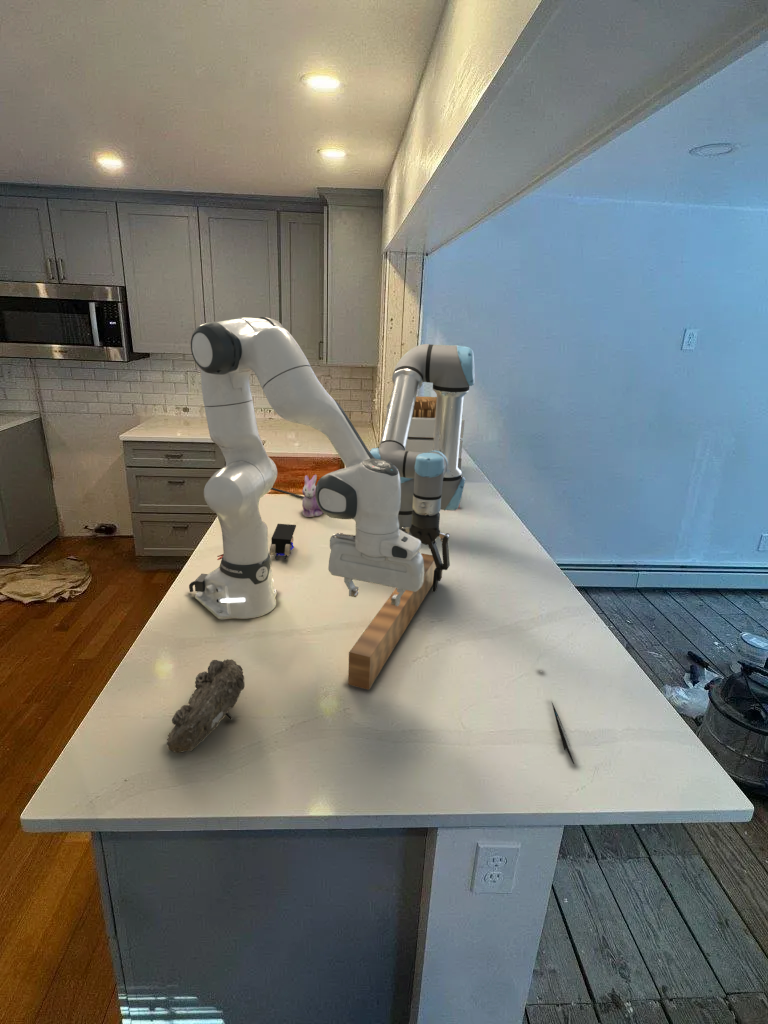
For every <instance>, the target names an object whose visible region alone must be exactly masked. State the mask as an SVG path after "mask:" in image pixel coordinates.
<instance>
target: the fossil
mask: <svg viewBox="0 0 768 1024" xmlns="http://www.w3.org/2000/svg"><path fill="white" fill-rule="evenodd" d="M243 670H244V669H243V667H242V665H240V664H237V662H236V661H235V660H234V659H232V658H231V659H227V658H226V659H224V660H223V661H222V660H217V659H212V660H211V661H210V663H209V665H208V666H207V671H201V672H199V673H198V674H197V675H196V676H195V680H194V684H195V685H194V687H195V689H194V690H193V693H192V694H191V697H190V698H189V700H188V704H184V705H182V706H181V707H180V709H177V710H176V711H175V713H174V715H173V716H172V718H171V723H172V724H173V727H172V730H171V731H170V732H168V734H167V738H166V741H167V742H166V745H167V749H168V750H169V751H173V752H174V753H176V754H178V753H182V752H188V751H189V752H192V751H193V750H195V748H196V747H197V746H199V744H200V743H201V742H203V741H204V740H205V739H206V738H207V737H208V736H209V735H210V734H211V733H212V732H214V730H215V729H217V727H218V726H219V724H220V722H221V721H222V720H223V719H224V718H225V716H226V717H227V719H229V720H233V717H232V715H230V714H229V710H230V709H231V708H234V706H235V704H236V703H237V702H238V699H239V697H240V695H241V693H242V691H243V690H245V689H244V688H245V675H244V671H243Z"/></svg>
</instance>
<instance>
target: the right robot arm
mask: <svg viewBox="0 0 768 1024" xmlns="http://www.w3.org/2000/svg"><path fill="white" fill-rule="evenodd" d="M475 365H476V364H475V354H474V350H473V349H472V348H471V347H470V346H464V345H455V344H454V345H451V344H430V343H423V344H418V345H415V346H413V347H412V348H411V349H409V350H408V351H406V352H405V354H403V355H402V356H401V358H399V360H398V361H397V363H396V365H395V367H394V369H393V372H392V377H391V381H392V384H393V386H392V391H391V395H390V398H389V401H390V403H389V402H388V403H389V407H388V411H387V410H386V412H387V416H386V415H385V420H384V423H383V424H384V425H383V429H382V432H381V433H382V434H381V437H380V442H379V447H372V448H371V449H370V450H369V452H370V453H371V454H372V455H373V457H374V458H375V459H381V460H385V461H388V462H390V463H392V464H393V465H394V466H396V468H397V469H398V471H399V474H400V480H401V507H400V510H399V513H398V521H399V529H400V530H402V531H403V532H405V533H407V534H409V535H411V536H413V537H415V538H417V539H419V540H420V541H421V545H422V544H423V545H425V546H427V547H428V548H429V549H430V553H431V555H432V556H433V559H434V562H435V565H436V568H435V570H434V577H433V585H432V589H431V590H432V591H431V592H432V593H436V591H437V590H438V586H439V585H438V584H439V582H440V581H441V580H442V578H443V571H448V569H449V567H450V566H451V563H450V549H449V547H450V546H449V541H450V537H451V534H450V533H449V532H447V533H444V532H441V529H440V520H441V519H440V518H441V513H440V512H441V510H442V511H456V510H458V509H459V508H458V507H459V504H461V501H462V495H463V493H464V492H463V491H464V486H465V483H466V478H465V476H461V475H463V474H462V469H461V470H460V469H459V468H458V457H459V445H460V439H461V438H460V433H461V422H462V419H463V408H464V398H465V395H467V394H468V393H469V392H470V387H472V386H474V385H475V382H476V381H475V379H476V376H475V374H476V369H475V368H476V367H475ZM423 383H431V384H432V390H433V391H434V393H435V394H436V397H437V400H436V415H435V429H434V444H433V451H430V452H428V453H422V452H411V451H405V449H406V444H407V439H408V434H409V430H410V425H411V420H412V415H413V410H414V405H415V401H416V397H417V395H418V391H419V390H420V388H422V386H423ZM271 490H272V491H275V492H279V493H282V494H286V495H290V496H294V497H296V498H298V499H299V498H300V499H302V500H303V498H304V495H300V494H297V493H293V492H291V491H290V492H289V491H287V490H283V489H279V488H275V487H272V488H271ZM271 490H270V491H271ZM438 538H439V540H440V542H441V553H442V554H440V550H439V548H438V544H437V539H438ZM441 555H442V557H441Z"/></svg>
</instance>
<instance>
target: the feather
mask: <svg viewBox="0 0 768 1024" xmlns="http://www.w3.org/2000/svg"><path fill="white" fill-rule="evenodd" d="M540 673H542V670H540ZM551 705H552V709H553V713H554V716H555V721H556V725H557V728H558V732H559V737H560V740H561V742H562V745H563V750H564V751H566V752H567V754H568V755H569V757H570V760H571V762H572V764H573V765H574V764H575V762H574V760H573V759H574V758H573V757H572V754H573V755H574V752H572V753H571V751H570V748H571V750H573V748H574V747H572V746H571V747H570V748H569V745H568V743H570V740H569V738H568V734H567V731H566V730H565V727H564V725H563V723H562V721H561V718H560V716H559V714H558V712H557V710H556V707H555V704H554V703H553V702H551ZM565 736H566V737H565ZM567 742H568V743H567Z"/></svg>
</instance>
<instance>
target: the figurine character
mask: <svg viewBox="0 0 768 1024" xmlns="http://www.w3.org/2000/svg"><path fill="white" fill-rule="evenodd" d="M296 528H297V524H290V523H289V524H288V523H277V525H276V526H275V529H274V531H273V533H272V536H271V542H270V547H269V554H270V556H274V559H275V560H278V558H279V556H281V557H282V556H284V557H283V560H287V559H288V556H290V555H291V554H292V553H291V551H293V550H294V548H295V545H294V533H295V531H296Z"/></svg>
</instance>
